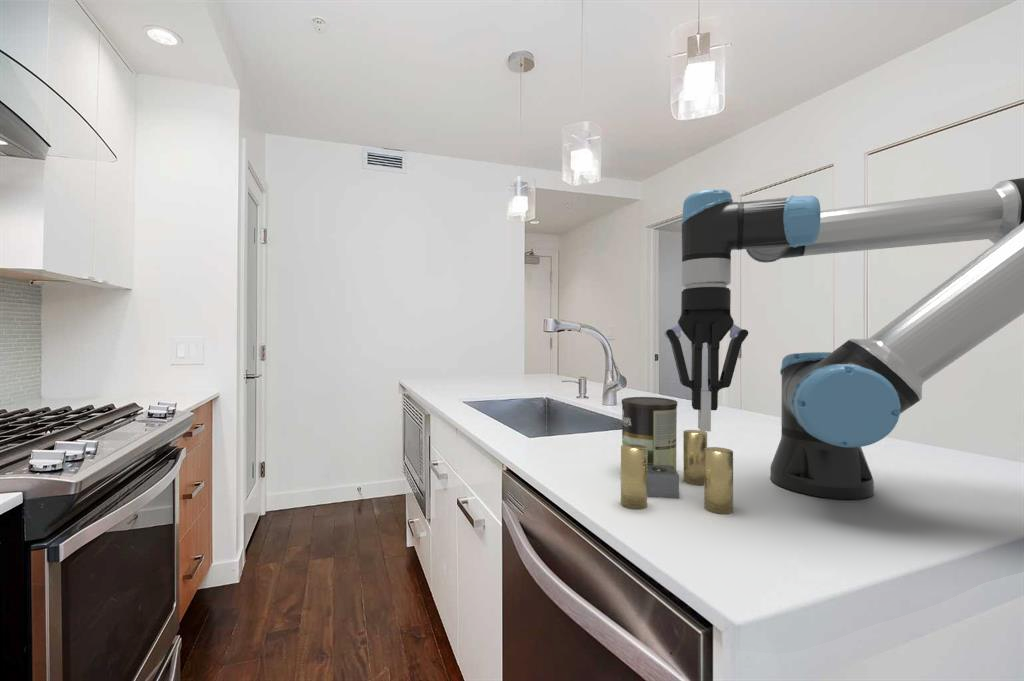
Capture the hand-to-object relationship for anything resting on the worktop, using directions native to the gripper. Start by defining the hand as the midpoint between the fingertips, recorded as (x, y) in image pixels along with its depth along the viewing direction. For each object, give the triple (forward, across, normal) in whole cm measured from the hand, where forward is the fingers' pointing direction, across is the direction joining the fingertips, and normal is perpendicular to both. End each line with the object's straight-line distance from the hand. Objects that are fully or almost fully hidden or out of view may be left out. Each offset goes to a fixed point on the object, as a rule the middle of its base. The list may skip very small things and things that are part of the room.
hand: (704, 429), depth 77 cm
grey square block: (+11, +7, 0) cm, 13 cm away
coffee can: (+11, +8, -11) cm, 17 cm away
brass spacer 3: (+11, -1, +7) cm, 13 cm away
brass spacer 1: (+11, +12, +7) cm, 17 cm away
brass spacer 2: (+11, 0, -7) cm, 13 cm away
